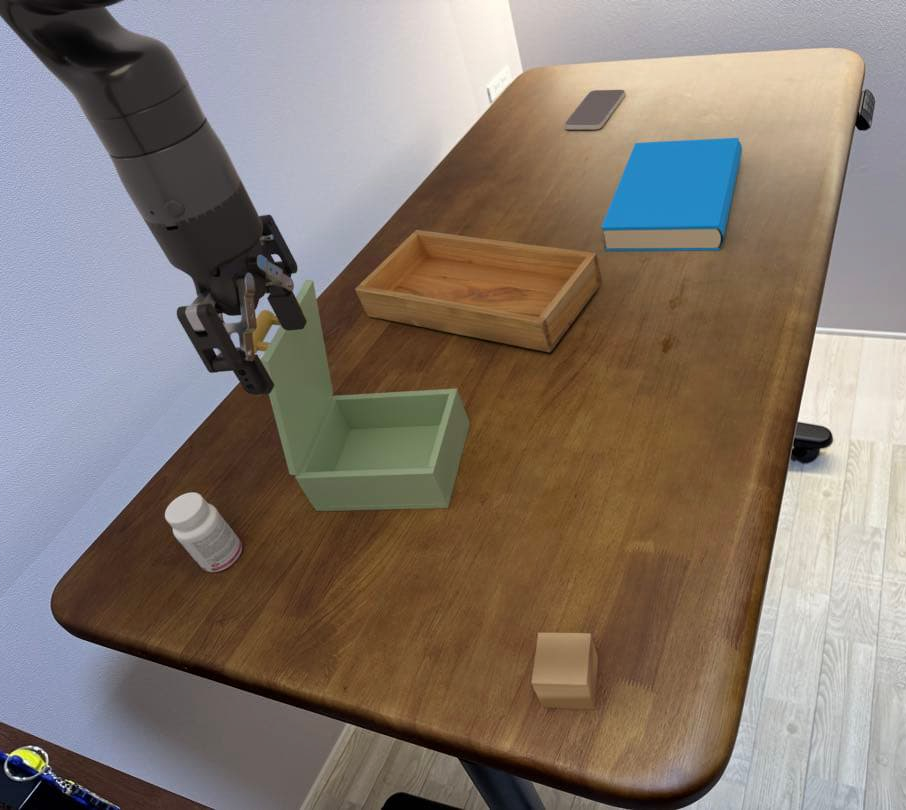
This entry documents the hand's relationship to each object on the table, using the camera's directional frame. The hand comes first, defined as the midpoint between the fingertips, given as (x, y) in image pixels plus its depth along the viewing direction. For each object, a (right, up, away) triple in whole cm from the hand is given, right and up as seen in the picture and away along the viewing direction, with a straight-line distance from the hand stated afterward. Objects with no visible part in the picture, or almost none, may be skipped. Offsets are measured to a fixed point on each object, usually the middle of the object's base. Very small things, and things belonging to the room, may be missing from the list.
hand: (280, 358), depth 68 cm
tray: (+15, +10, +41) cm, 45 cm away
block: (+25, -28, -2) cm, 38 cm away
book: (+44, +26, +50) cm, 71 cm away
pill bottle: (-12, -21, +17) cm, 29 cm away
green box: (+6, -11, +21) cm, 25 cm away
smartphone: (+33, +51, +78) cm, 99 cm away
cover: (-2, -1, +13) cm, 13 cm away
